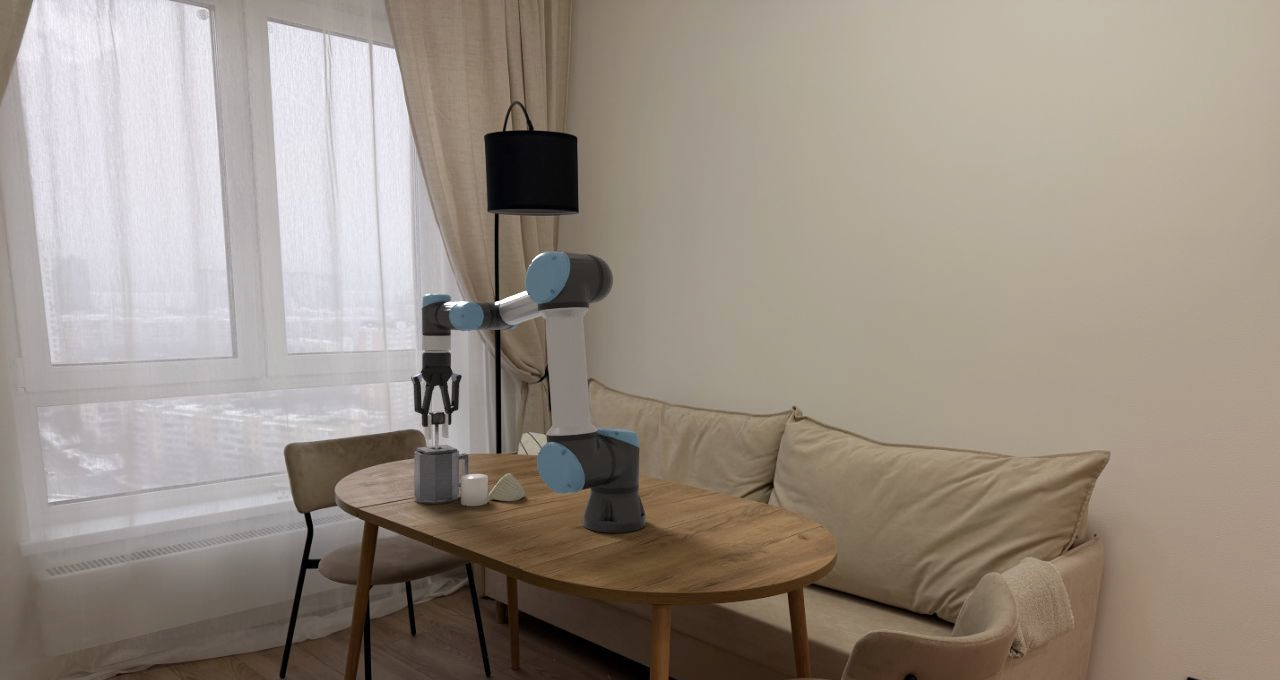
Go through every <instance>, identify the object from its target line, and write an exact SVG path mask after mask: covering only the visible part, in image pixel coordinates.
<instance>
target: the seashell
mask: <svg viewBox="0 0 1280 680" xmlns="http://www.w3.org/2000/svg"><path fill="white" fill-rule="evenodd" d="M525 494H526V492H525V489H524V487H523V486H522V484H521V483H520V481H519V480H518V479H517V478H516V477H515V476H514V475H512V473H505V475H502V477H501V478H500V479H499V480H498V482H497V483H496V484H495V485H494V487H493V488H492V489H491V490H490V491H489V493H488V498H489V499H491V500H497V501H501V502H514V501H518V500H521V499H522V498H523V497H525Z"/></svg>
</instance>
